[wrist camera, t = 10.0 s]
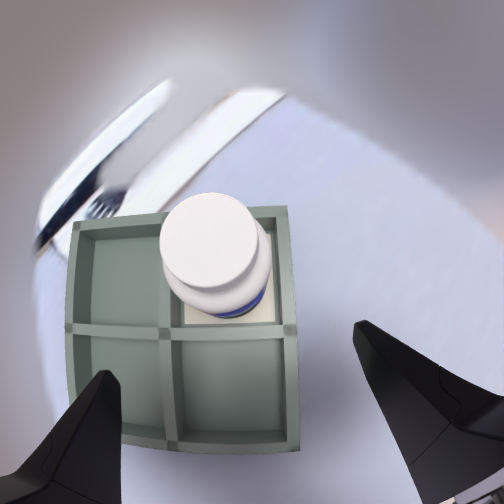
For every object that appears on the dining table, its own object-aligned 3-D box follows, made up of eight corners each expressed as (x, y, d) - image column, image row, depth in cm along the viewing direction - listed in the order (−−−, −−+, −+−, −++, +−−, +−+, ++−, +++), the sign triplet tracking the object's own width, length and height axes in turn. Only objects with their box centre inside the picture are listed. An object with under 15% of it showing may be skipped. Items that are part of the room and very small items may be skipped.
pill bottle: (190, 318, 20) (135, 307, 10) (192, 245, 21) (147, 181, 12) (268, 318, 20) (278, 308, 10) (266, 244, 21) (273, 175, 12)
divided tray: (294, 435, 18) (299, 450, 15) (92, 422, 18) (73, 431, 15) (283, 221, 22) (287, 205, 19) (91, 233, 22) (73, 221, 19)
